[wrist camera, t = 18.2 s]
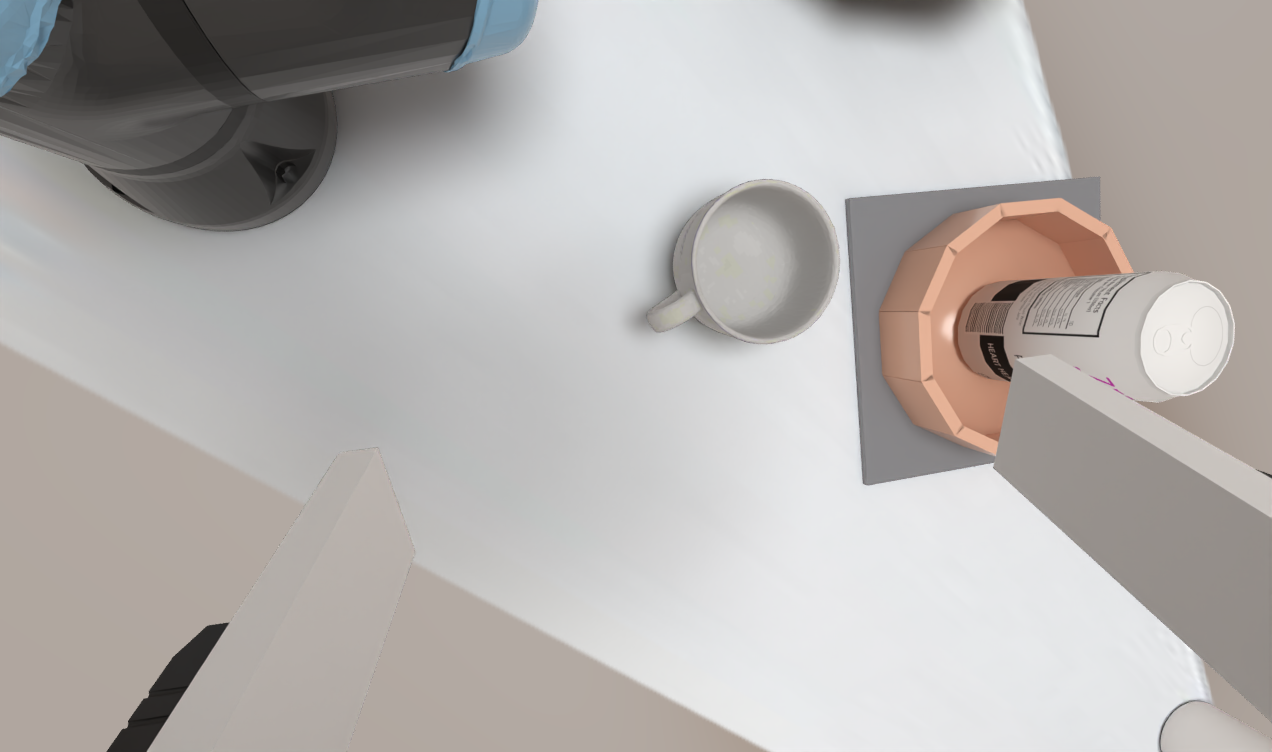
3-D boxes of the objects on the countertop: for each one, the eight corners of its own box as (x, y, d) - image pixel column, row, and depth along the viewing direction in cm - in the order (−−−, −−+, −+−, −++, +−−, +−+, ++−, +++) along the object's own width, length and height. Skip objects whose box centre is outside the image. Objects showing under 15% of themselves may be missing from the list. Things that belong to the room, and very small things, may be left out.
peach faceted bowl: (845, 199, 48) (887, 185, 43) (1093, 178, 52) (1160, 162, 47) (863, 483, 51) (904, 504, 46) (1096, 441, 55) (1158, 455, 50)
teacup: (771, 184, 47) (821, 158, 39) (806, 314, 49) (861, 315, 41) (606, 235, 45) (623, 219, 37) (648, 370, 47) (674, 381, 39)
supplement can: (1035, 277, 50) (1245, 264, 36) (1035, 373, 51) (1239, 398, 37) (950, 285, 49) (1133, 274, 34) (952, 383, 50) (1130, 413, 35)
